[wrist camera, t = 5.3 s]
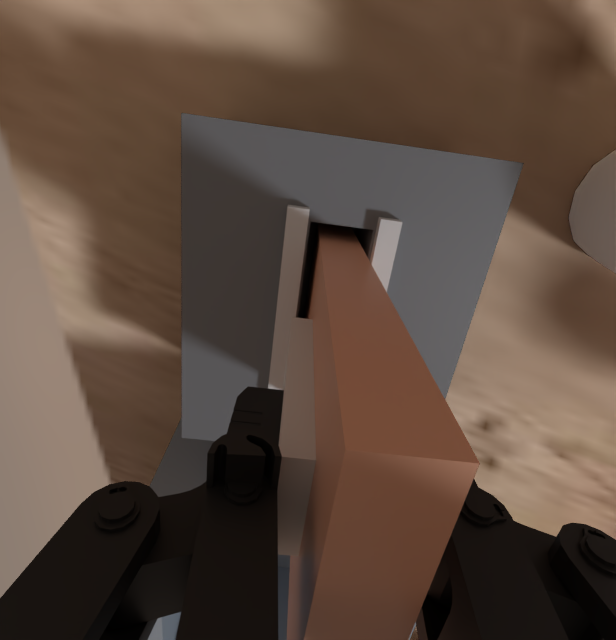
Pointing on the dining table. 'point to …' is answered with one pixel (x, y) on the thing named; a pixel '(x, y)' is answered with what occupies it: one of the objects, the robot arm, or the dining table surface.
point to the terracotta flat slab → (371, 460)
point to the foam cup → (596, 213)
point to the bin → (184, 475)
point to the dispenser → (299, 238)
